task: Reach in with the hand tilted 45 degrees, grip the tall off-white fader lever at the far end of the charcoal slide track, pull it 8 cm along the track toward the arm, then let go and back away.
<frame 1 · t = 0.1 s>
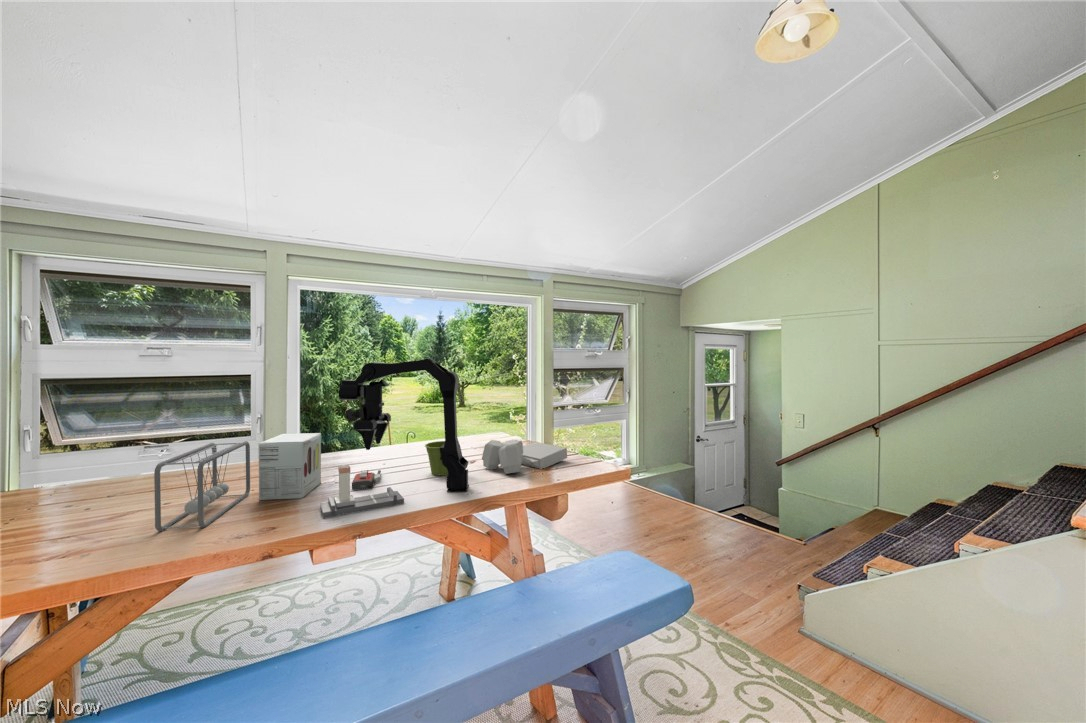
hand: (373, 446, 143), 15 cm above the table, fingers open, 9 cm apart
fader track: (362, 505, 128), on the table
fader lever: (344, 484, 125), point 7 cm above the table, slide at 0.0 cm
newton's cradle: (208, 512, 124), on the table
game console: (524, 466, 176), on the table
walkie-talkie: (367, 483, 153), on the table
supplement box: (292, 491, 142), on the table
plant pot: (440, 473, 164), on the table
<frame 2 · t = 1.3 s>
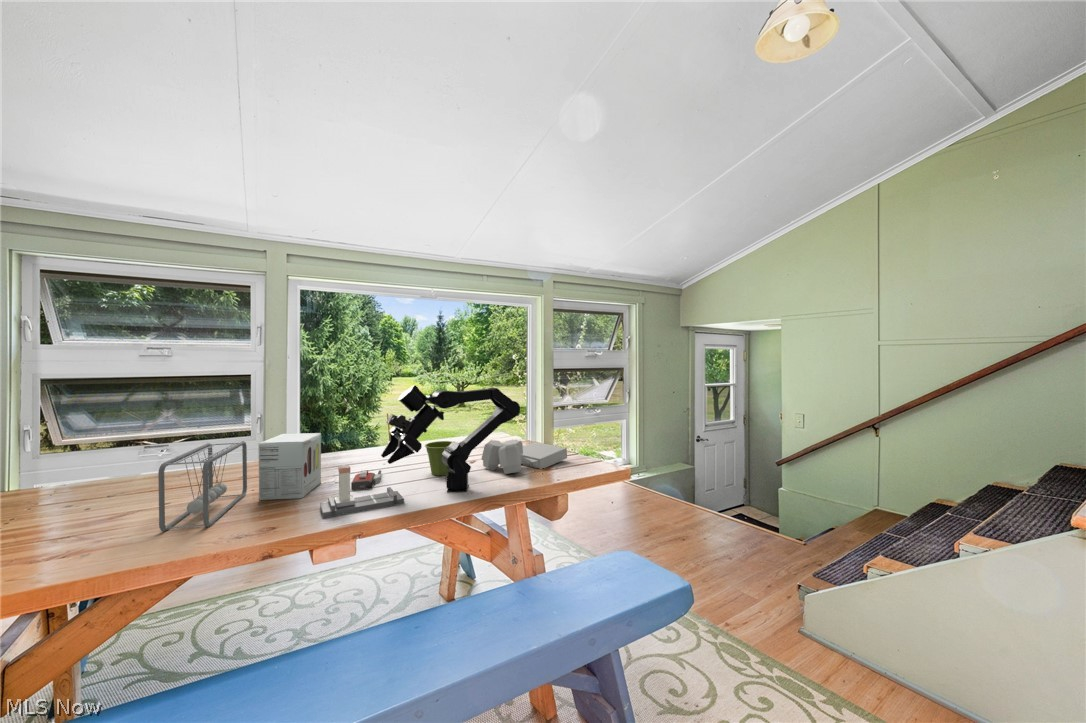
hand: (385, 459, 131), 13 cm above the table, fingers open, 9 cm apart
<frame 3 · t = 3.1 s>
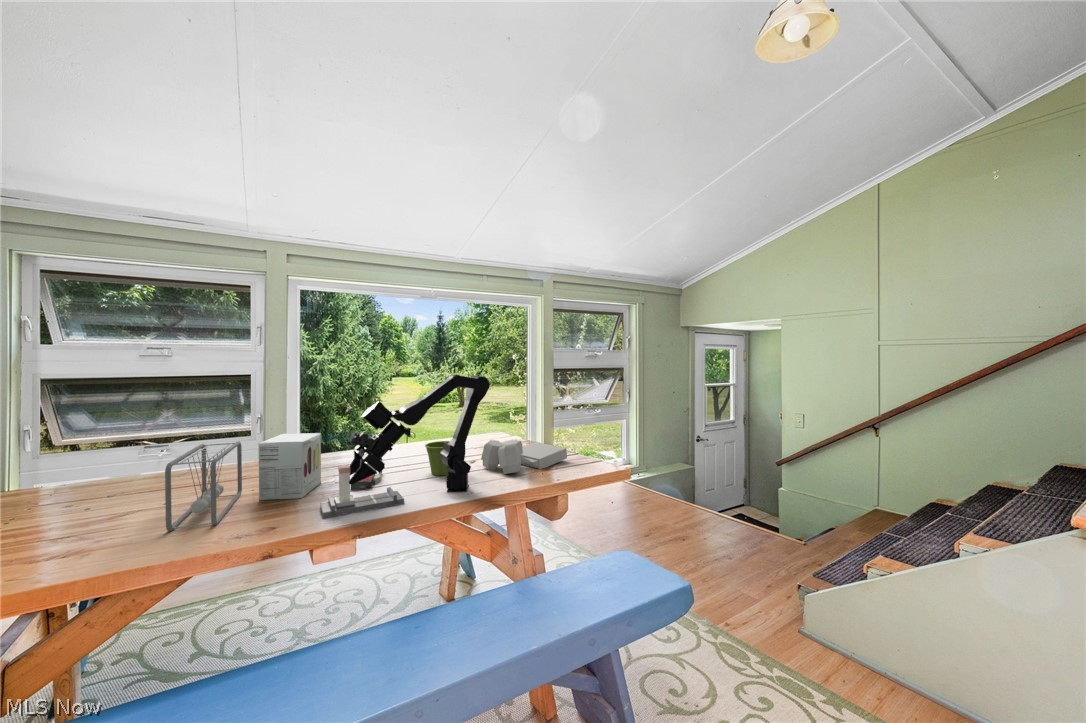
hand: (347, 479, 126), 8 cm above the table, fingers open, 9 cm apart
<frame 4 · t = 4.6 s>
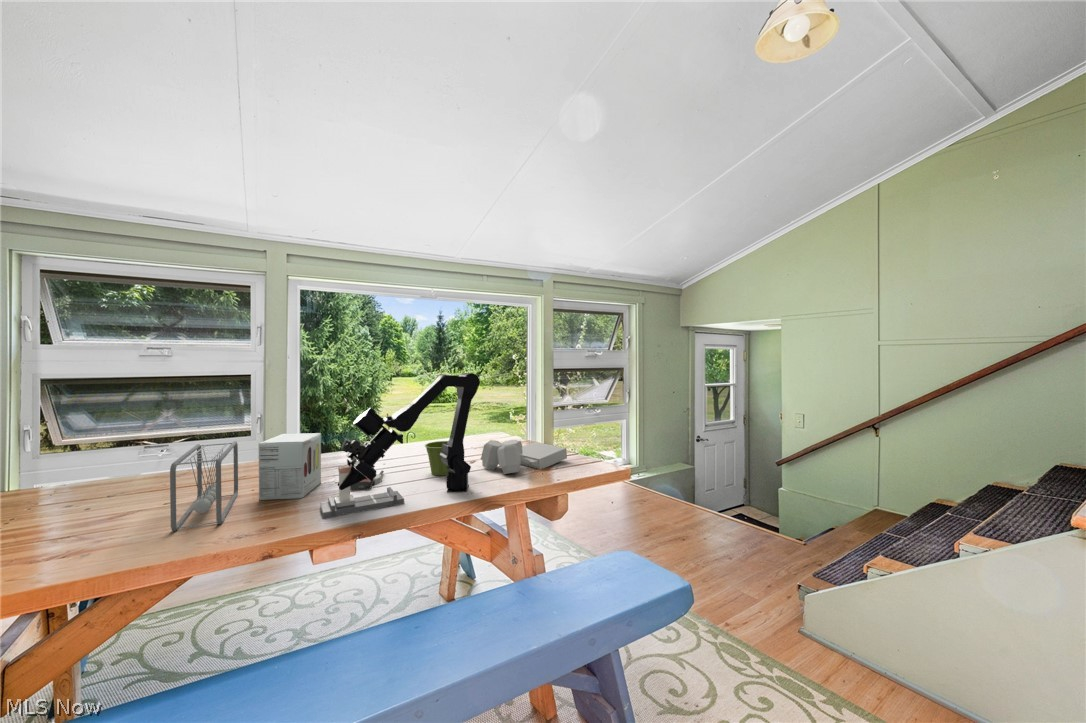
hand: (339, 487, 125), 7 cm above the table, fingers closed on fader lever, 3 cm apart
fader lever: (344, 484, 125), point 7 cm above the table, slide at 0.0 cm, touching gripper
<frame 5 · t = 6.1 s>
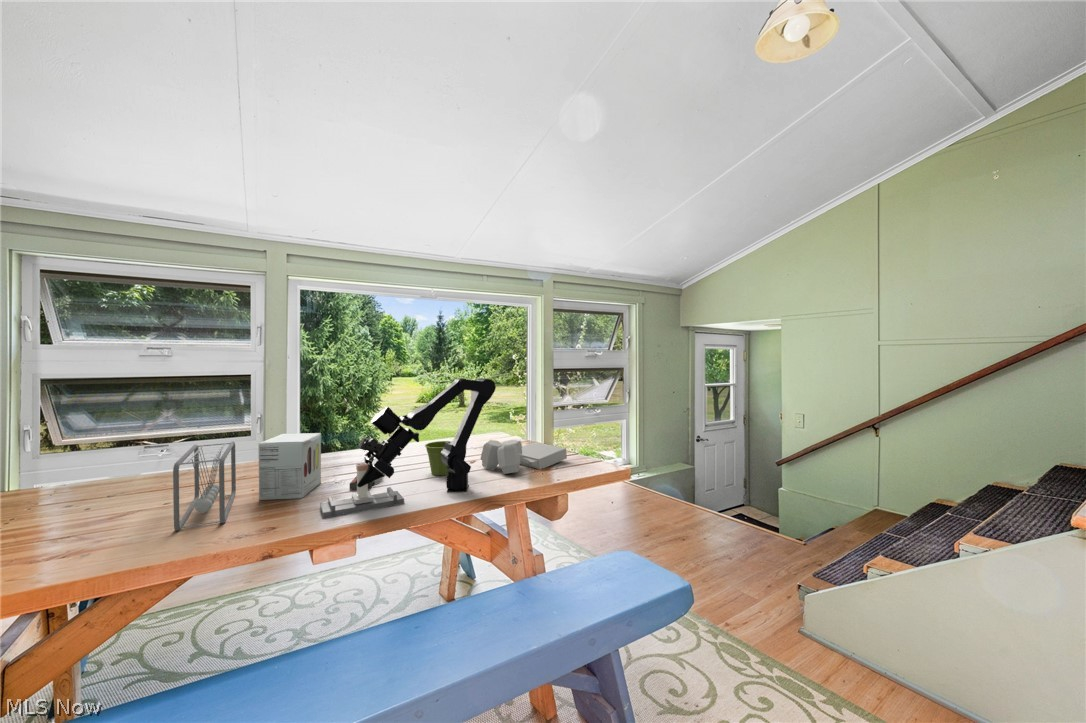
hand: (357, 484, 127), 7 cm above the table, fingers closed on fader lever, 3 cm apart
fader lever: (362, 482, 128), point 7 cm above the table, slide at 4.9 cm, touching gripper
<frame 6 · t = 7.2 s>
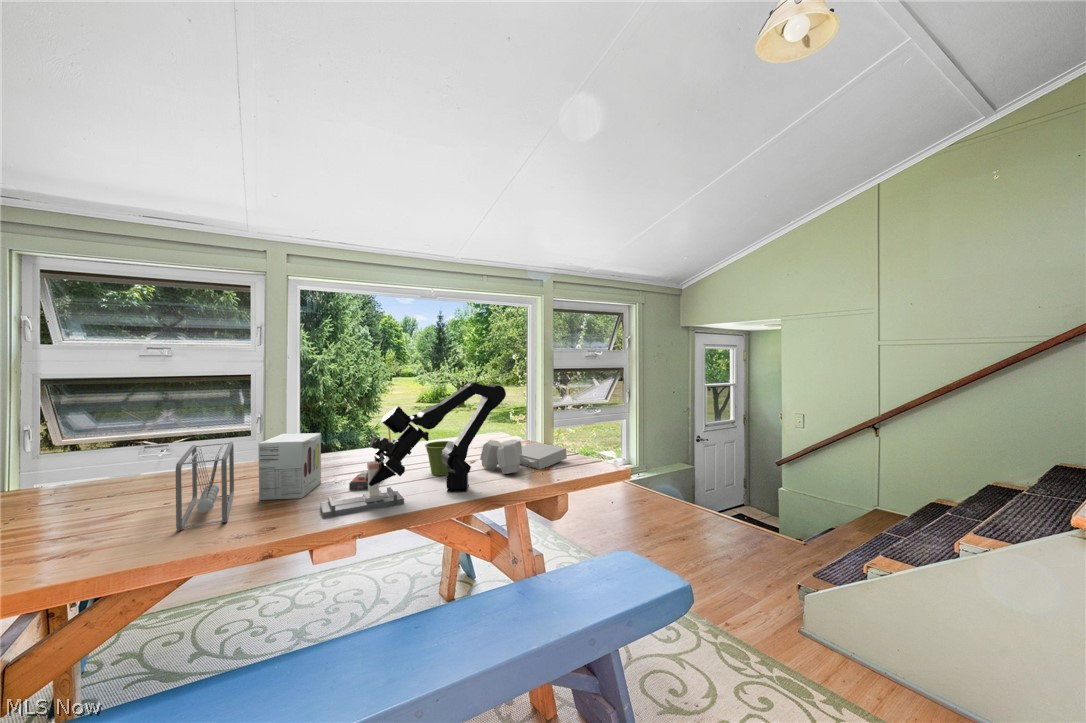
hand: (368, 483, 129), 7 cm above the table, fingers open, 4 cm apart
fader lever: (373, 480, 130), point 7 cm above the table, slide at 8.0 cm
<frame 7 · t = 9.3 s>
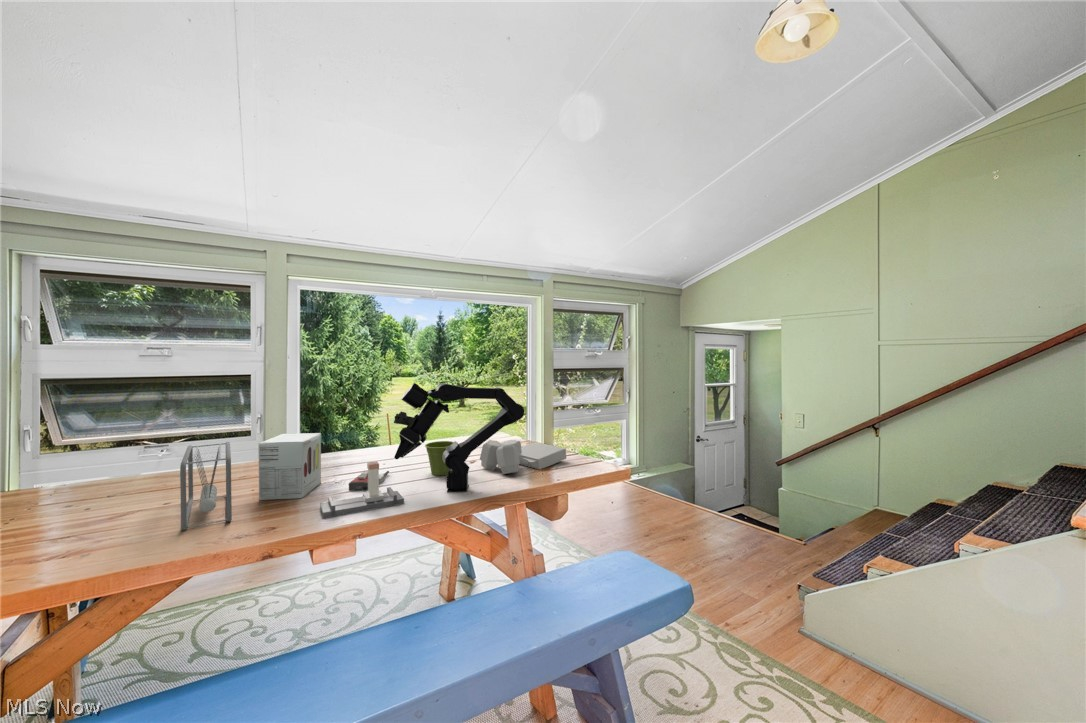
hand: (398, 457, 136), 12 cm above the table, fingers open, 9 cm apart
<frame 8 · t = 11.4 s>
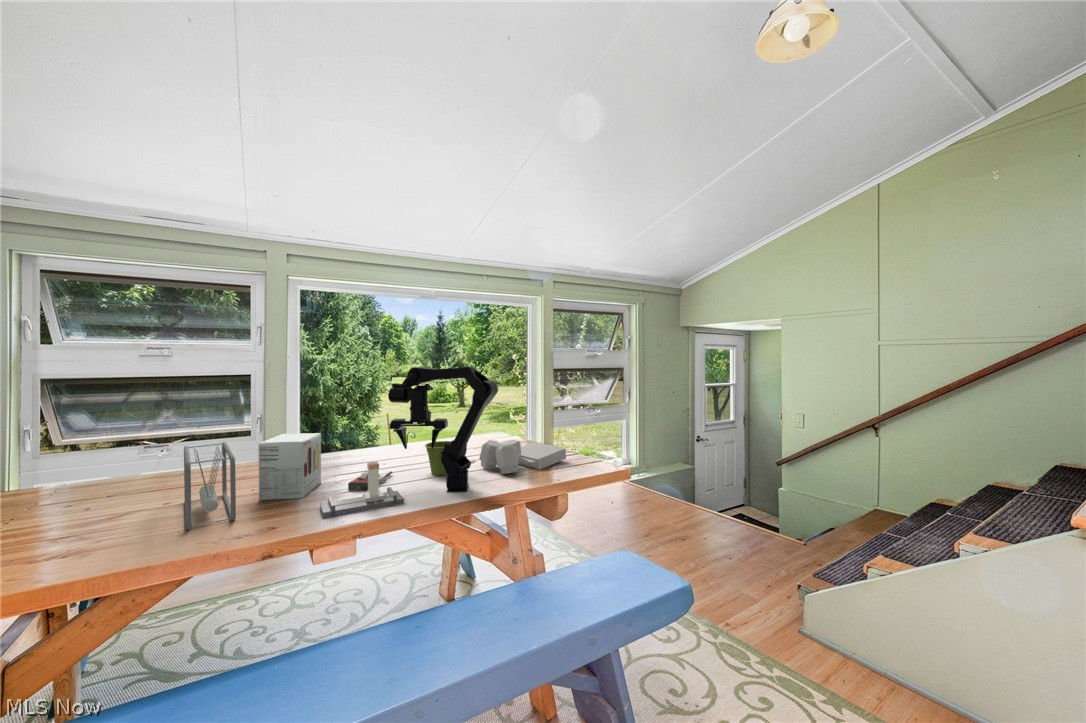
hand: (419, 448, 147), 13 cm above the table, fingers open, 9 cm apart
at the end: fader lever slide at 8.0 cm; the gripper is holding nothing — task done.
